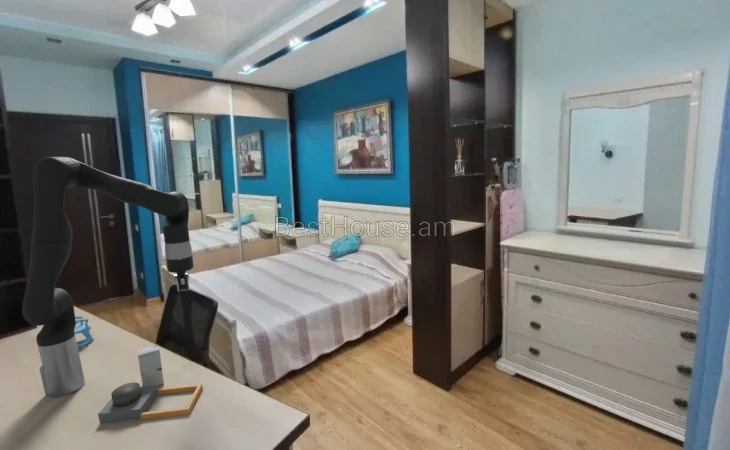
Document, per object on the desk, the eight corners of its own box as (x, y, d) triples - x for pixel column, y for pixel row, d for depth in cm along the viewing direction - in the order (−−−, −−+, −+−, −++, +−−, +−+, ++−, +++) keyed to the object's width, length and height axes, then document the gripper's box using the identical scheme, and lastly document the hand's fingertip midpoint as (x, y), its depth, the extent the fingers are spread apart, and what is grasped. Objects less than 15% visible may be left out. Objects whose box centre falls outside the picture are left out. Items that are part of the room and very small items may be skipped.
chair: (97, 342, 150) (91, 314, 148) (72, 351, 143) (67, 322, 141) (88, 338, 154) (83, 311, 152) (64, 346, 147) (59, 318, 145)
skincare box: (143, 391, 115) (136, 356, 113) (142, 384, 119) (136, 350, 117) (165, 383, 119) (159, 349, 116) (163, 377, 122) (158, 344, 120)
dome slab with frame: (98, 424, 101) (94, 405, 100) (122, 397, 113) (118, 379, 112) (189, 413, 104) (186, 395, 102) (202, 388, 115) (200, 370, 114)
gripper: (165, 252, 120) (171, 298, 123) (166, 262, 108) (172, 314, 110) (190, 249, 123) (195, 294, 126) (193, 258, 111) (199, 308, 114)
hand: (185, 303), depth 118 cm, fingers open, 8 cm apart
